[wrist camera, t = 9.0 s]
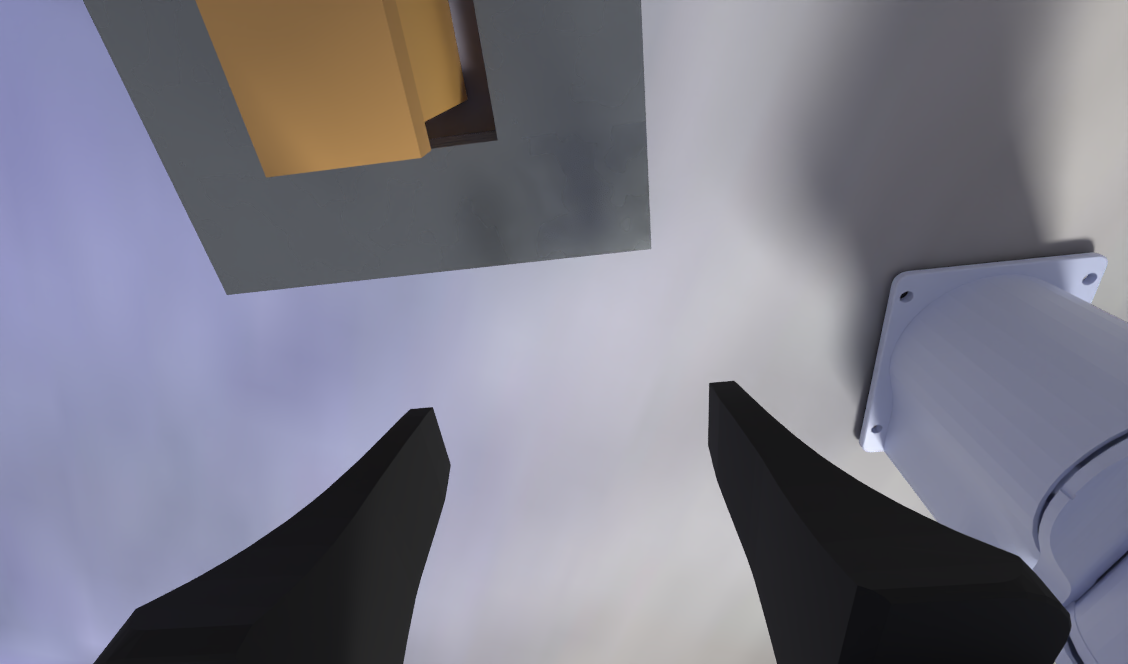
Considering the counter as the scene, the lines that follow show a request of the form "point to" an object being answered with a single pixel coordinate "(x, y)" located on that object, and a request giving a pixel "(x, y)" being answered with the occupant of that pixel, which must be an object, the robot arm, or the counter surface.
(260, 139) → the orange stepped block
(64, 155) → the counter surface
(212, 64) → the rosette plate
